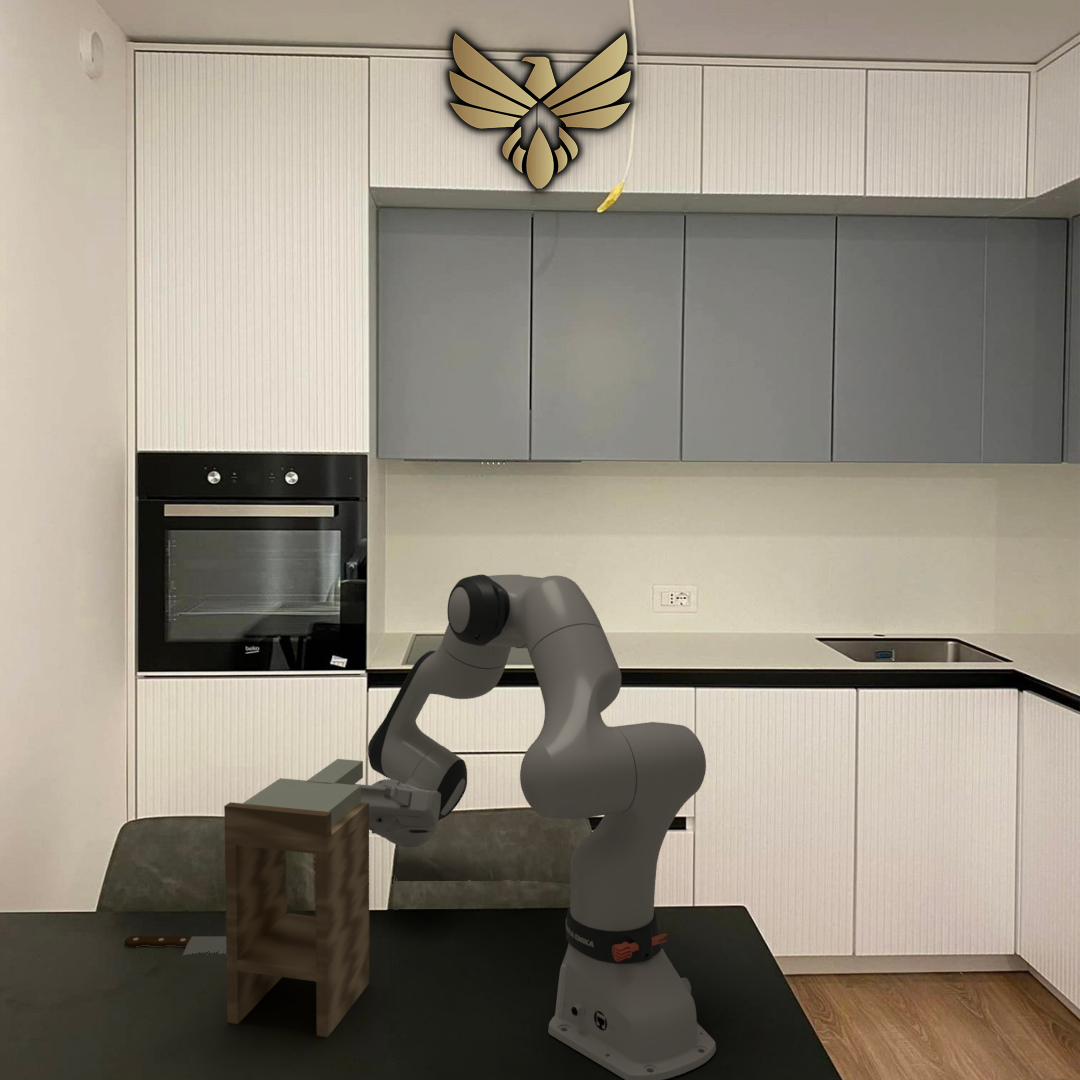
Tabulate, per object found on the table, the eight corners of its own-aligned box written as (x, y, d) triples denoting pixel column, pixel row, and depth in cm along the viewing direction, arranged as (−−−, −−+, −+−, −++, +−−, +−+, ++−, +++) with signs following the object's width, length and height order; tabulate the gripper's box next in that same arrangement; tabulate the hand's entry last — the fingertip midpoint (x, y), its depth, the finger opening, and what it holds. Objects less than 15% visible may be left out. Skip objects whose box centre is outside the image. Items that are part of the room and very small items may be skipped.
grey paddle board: (312, 773, 159) (312, 756, 159) (388, 779, 157) (388, 763, 156) (239, 824, 138) (239, 805, 138) (325, 833, 135) (325, 813, 135)
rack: (277, 970, 152) (275, 773, 150) (369, 983, 149) (369, 781, 146) (227, 1022, 139) (224, 806, 136) (327, 1037, 136) (326, 816, 133)
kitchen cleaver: (107, 963, 153) (132, 928, 163) (108, 970, 153) (133, 934, 163) (278, 966, 153) (293, 930, 163) (278, 972, 154) (293, 937, 163)
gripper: (333, 783, 177) (300, 763, 165) (450, 793, 173) (426, 774, 161) (325, 822, 175) (292, 804, 163) (444, 833, 170) (419, 816, 158)
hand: (359, 789), depth 162 cm, fingers open, 8 cm apart
